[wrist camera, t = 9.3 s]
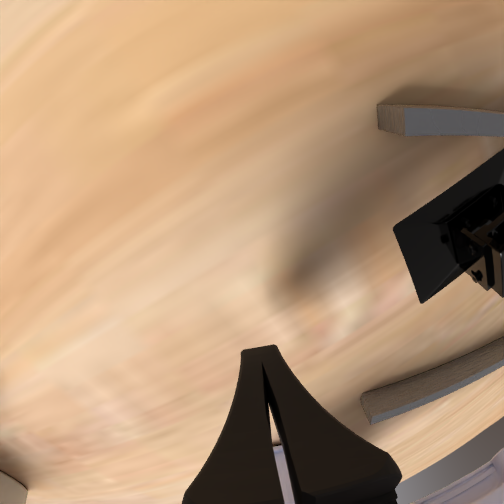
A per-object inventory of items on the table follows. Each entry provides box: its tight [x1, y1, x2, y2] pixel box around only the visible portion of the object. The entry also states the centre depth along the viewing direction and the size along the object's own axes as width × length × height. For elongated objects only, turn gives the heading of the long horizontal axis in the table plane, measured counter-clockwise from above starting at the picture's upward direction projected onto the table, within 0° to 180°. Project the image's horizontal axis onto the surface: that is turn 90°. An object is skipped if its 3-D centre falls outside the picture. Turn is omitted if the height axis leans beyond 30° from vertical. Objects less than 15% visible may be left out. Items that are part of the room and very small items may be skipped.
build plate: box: [393, 149, 504, 304], centre depth 12 cm, size 12×7×5 cm, turn 123°
